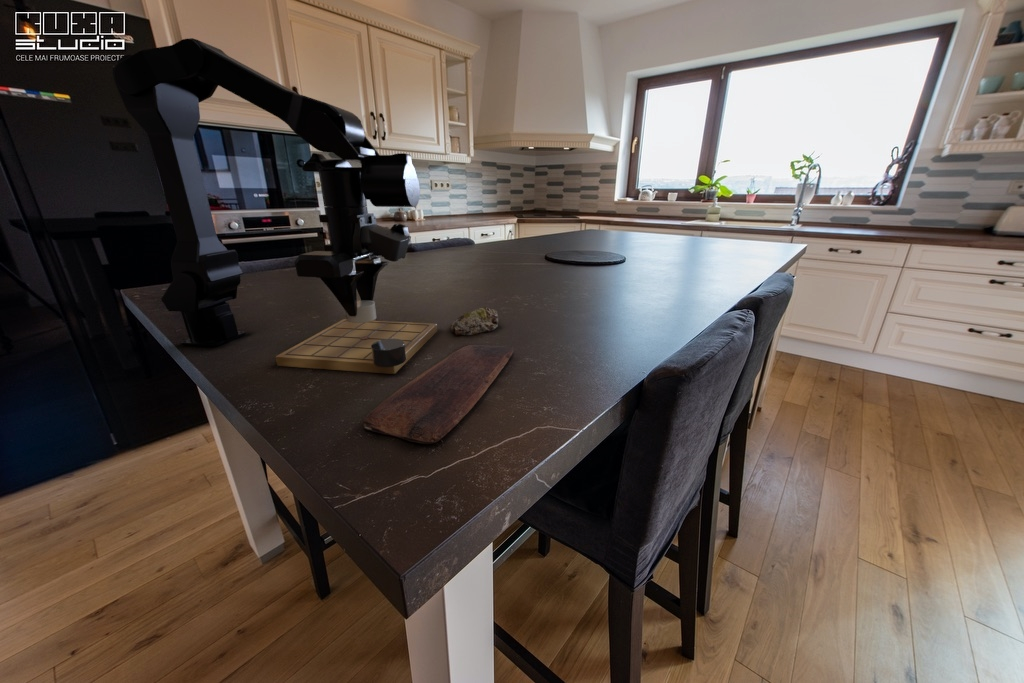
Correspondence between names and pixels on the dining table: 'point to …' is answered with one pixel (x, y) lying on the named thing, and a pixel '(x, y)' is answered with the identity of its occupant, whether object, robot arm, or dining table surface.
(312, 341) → the game board
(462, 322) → the mineral rock
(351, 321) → the cream stone
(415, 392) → the wooden tablet
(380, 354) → the black stone
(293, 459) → the dining table surface
